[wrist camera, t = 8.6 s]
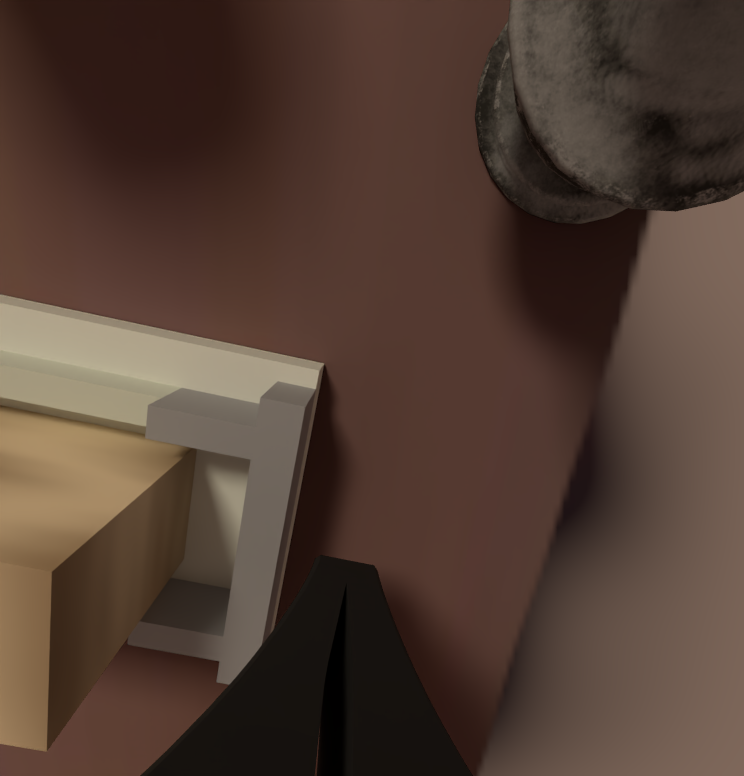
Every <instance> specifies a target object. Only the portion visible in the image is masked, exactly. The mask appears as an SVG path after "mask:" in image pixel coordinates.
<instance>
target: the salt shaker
mask: <svg viewBox="0 0 744 776" xmlns="http://www.w3.org/2000/svg"><path fill="white" fill-rule="evenodd" d="M475 122H476V129H477V136H478V143H479V149H480V152H481V154H482V157H483V159H484V162H485V164H486V167H487V169H488V171H489V174H490V176H491V177H492V179H493V180H494V181H495V183H496V184H497V185H498V187H499V188H500V189H501V190H502V192H503V193H504V194H505V196H506V197H507V198H508V199H509V200H511V201H512V202H514V203H515V204H516V205H518V206H519V207H520V208H522V209H523V210H524V211H526V212H527V213H529V214H531V215H534V216H537V217H540V218H542V219H545V220H548V221H551V222H554V223H574V224H582V223H587V222H591V221H596V220H600V219H605V218H609V217H611V216H613V215H615V214H617V213H619V212H621V211H623V210H625V209H627V208H631V209H641V210H660V211H679V210H684V209H689V208H693V207H698V206H702V205H707V204H711V203H716V202H720V201H724V200H727V199H729V198H731V197H733V196H735V195H737V194H739V193H741V192H743V191H744V0H510V9H509V18H508V22H507V23H506V25H505V27H504V28H503V30H502V32H501V33H500V35H499V37H498V38H497V40H496V41H495V43H494V45H493V46H492V48H491V50H490V52H489V54H488V57H487V60H486V63H485V66H484V69H483V72H482V75H481V78H480V81H479V84H478V92H477V102H476V112H475Z"/></svg>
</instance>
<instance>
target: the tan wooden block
mask: <svg viewBox="0 0 744 776" xmlns="http://www.w3.org/2000/svg"><path fill="white" fill-rule="evenodd" d="M196 453H197V449H195V448H190V447H185V446H180V445H175V444H170V443H165V442H161V441H156V440H151V439H146V438H145V434H141V433H136V432H131V431H126V430H121V429H116V428H111V427H106V426H101V425H96V424H91V423H87V422H82V421H77V420H72V419H67V418H62V417H57V416H52V415H47V414H42V413H37V412H32V411H27V410H22V409H17V408H12V407H7V406H2V405H0V744H5V745H11V746H17V747H23V748H29V749H35V750H41V751H46V752H47V750H48V749H49V748H50V746H51V745H52V743H53V742H54V741H55V739H56V738H57V736H58V735H59V734H60V732H61V731H62V729H63V728H64V727H65V725H66V724H67V722H68V721H69V720H70V718H71V717H72V715H73V714H74V713H75V711H76V710H77V708H78V707H79V705H80V704H81V703H82V701H83V700H84V698H85V697H86V696H87V694H88V693H89V691H90V690H91V689H92V687H93V686H94V684H95V683H96V682H97V680H98V679H99V677H100V676H101V675H102V673H103V672H104V670H105V669H106V668H107V666H108V665H109V663H110V662H111V661H112V659H113V658H114V656H115V655H116V654H117V652H118V651H119V649H120V648H121V647H122V645H123V644H124V642H125V641H126V640H127V638H128V637H129V635H130V634H131V633H132V631H133V630H134V628H135V627H136V626H137V624H138V623H139V621H140V620H141V619H142V617H143V616H144V614H145V613H146V612H147V610H148V609H149V607H150V606H151V605H152V603H153V602H154V600H155V599H156V598H157V596H158V595H159V593H160V592H161V591H162V589H163V588H164V586H165V585H166V584H167V582H168V581H169V579H170V578H171V576H172V575H173V574H174V572H175V571H176V569H177V568H178V567H179V565H180V564H181V562H182V561H183V560H184V554H185V546H186V537H187V529H188V520H189V512H190V503H191V495H192V487H193V478H194V470H195V461H196Z"/></svg>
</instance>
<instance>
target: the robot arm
mask: <svg viewBox="0 0 744 776" xmlns="http://www.w3.org/2000/svg"><path fill="white" fill-rule="evenodd" d="M319 728H320V733H319ZM318 737H319V749H318V765H317V776H473V775H472V774H471V772H470V770H469V769H468V767H467V765H466V764H465V762H464V761H463V759H462V757H461V756H460V754H459V752H458V750H457V749H456V747H455V745H454V743H453V742H452V740H451V738H450V736H449V735H448V733H447V731H446V729H445V728H444V726H443V724H442V722H441V720H440V719H439V717H438V715H437V713H436V711H435V709H434V707H433V705H432V703H431V701H430V700H429V698H428V696H427V694H426V692H425V689H424V687H423V685H422V683H421V681H420V679H419V677H418V675H417V673H416V671H415V669H414V667H413V664H412V662H411V660H410V658H409V656H408V653H407V651H406V649H405V646H404V644H403V642H402V639H401V637H400V634H399V632H398V630H397V627H396V625H395V622H394V620H393V617H392V614H391V612H390V609H389V606H388V603H387V601H386V598H385V595H384V592H383V589H382V585H381V582H380V579H379V575H378V571H377V569H376V568H375V566H374V565H369V564H364V563H359V562H354V561H349V560H344V559H338V558H333V557H328V556H323V555H320V556H319V557H317V558H315V560H314V563H313V566H312V568H311V571H310V573H309V575H308V577H307V579H306V581H305V582H304V584H303V586H302V588H301V589H300V591H299V593H298V594H297V596H296V598H295V599H294V601H293V602H292V604H291V605H290V607H289V608H288V610H287V611H286V613H285V614H284V616H283V617H282V619H281V620H280V622H279V623H278V624H277V626H276V627H275V629H274V630H273V631H272V632H271V634H270V635H269V636H268V638H267V639H266V640H265V642H264V643H263V644H262V645H261V647H260V648H259V649H258V651H257V652H256V653H255V655H254V656H253V657H252V658H251V660H250V661H249V662H248V663H247V665H246V666H245V667H244V668H243V669H242V671H241V672H240V673H239V674H238V675H237V676H236V678H235V679H234V680H233V681H232V682H231V683H230V685H229V686H228V687H227V688H226V689H225V690H224V691H223V692H222V693H221V695H220V696H219V697H218V698H217V699H216V700H215V701H214V702H213V704H212V705H211V706H210V707H209V708H208V709H207V710H206V711H205V712H204V713H203V714H202V715H201V716H200V717H199V718H198V719H197V720H196V721H195V722H194V723H193V724H192V725H191V726H190V727H189V729H188V730H187V731H186V732H185V733H184V734H183V735H182V736H181V737H180V738H179V739H178V740H177V741H176V742H175V743H174V744H173V745H172V746H171V747H170V748H169V749H168V750H167V751H166V752H165V753H164V754H163V755H162V756H161V757H160V758H159V759H158V760H157V761H156V762H154V763H153V764H152V765H151V766H150V767H149V768H148V769H147V770H146V771H145V772H144V773H143V774H142V775H141V776H315V766H316V757H317V747H318Z"/></svg>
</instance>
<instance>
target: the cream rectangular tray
mask: <svg viewBox="0 0 744 776" xmlns="http://www.w3.org/2000/svg"><path fill="white" fill-rule="evenodd" d="M323 368H324V363H319V362H315V361H310V360H305V359H300V358H296V357H291V356H286V355H282V354H277V353H272V352H268V351H263V350H258V349H254V348H249V347H244V346H239V345H235V344H230V343H225V342H221V341H216V340H211V339H207V338H202V337H197V336H193V335H188V334H183V333H178V332H174V331H169V330H164V329H160V328H155V327H150V326H146V325H141V324H136V323H132V322H127V321H122V320H117V319H113V318H108V317H103V316H99V315H94V314H89V313H85V312H80V311H75V310H71V309H66V308H61V307H56V306H52V305H47V304H42V303H38V302H33V301H28V300H24V299H19V298H14V297H10V296H5V295H0V405H2V406H7V407H12V408H17V409H22V410H27V411H32V412H37V413H42V414H47V415H52V416H57V417H62V418H67V419H72V420H77V421H82V422H87V423H91V424H96V425H101V426H106V427H111V428H116V429H121V430H126V431H131V432H136V433H141V434H145V438H146V439H151V440H156V441H161V442H165V443H170V444H175V445H180V446H185V447H190V448H195V449H197V453H196V461H195V470H194V478H193V487H192V495H191V503H190V512H189V520H188V529H187V537H186V546H185V554H184V560H183V561H182V562H181V564H180V565H179V567H178V568H177V569H176V571H175V572H174V574H173V575H172V576H171V578H170V579H169V581H168V582H167V584H166V585H165V586H164V588H163V589H162V591H161V592H160V593H159V595H158V596H157V598H156V599H155V600H154V602H153V603H152V605H151V606H150V607H149V609H148V610H147V612H146V613H145V614H144V616H143V617H142V619H141V620H140V621H139V623H138V624H137V626H136V627H135V628H134V630H133V631H132V633H131V634H130V635H129V637H128V644H127V645H132V646H137V647H143V648H148V649H154V650H159V651H165V652H171V653H176V654H182V655H187V656H193V657H198V658H204V659H209V660H215V661H220V662H219V668H218V675H217V681H216V682H218V683H223V684H229V685H230V683H231V682H232V681H233V680H234V679H235V678H236V676H237V675H238V674H239V673H240V672H241V671H242V669H243V668H244V667H245V666H246V665H247V663H248V662H249V661H250V660H251V658H252V657H253V656H254V655H255V653H256V652H257V651H258V649H259V648H260V647H261V645H262V644H263V643H264V642H265V640H266V639H267V638H268V636H269V635H270V634H271V632H272V631H273V629H274V626H275V621H276V616H277V611H278V605H279V600H280V595H281V589H282V584H283V579H284V574H285V568H286V563H287V558H288V553H289V547H290V542H291V537H292V532H293V526H294V521H295V516H296V510H297V505H298V500H299V495H300V489H301V484H302V479H303V474H304V468H305V463H306V458H307V452H308V447H309V442H310V437H311V431H312V426H313V421H314V416H315V410H316V405H317V400H318V394H319V389H320V384H321V379H322V373H323Z"/></svg>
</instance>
